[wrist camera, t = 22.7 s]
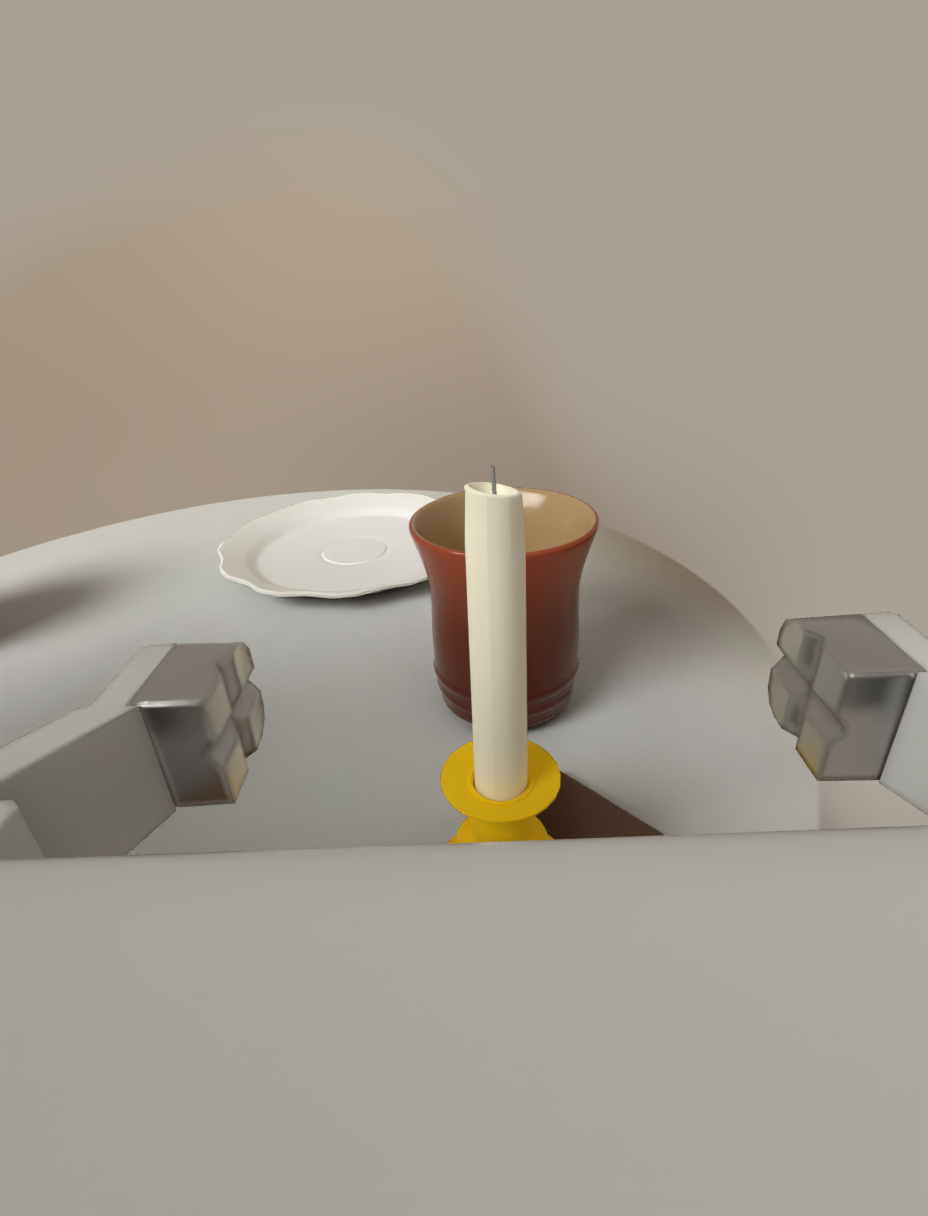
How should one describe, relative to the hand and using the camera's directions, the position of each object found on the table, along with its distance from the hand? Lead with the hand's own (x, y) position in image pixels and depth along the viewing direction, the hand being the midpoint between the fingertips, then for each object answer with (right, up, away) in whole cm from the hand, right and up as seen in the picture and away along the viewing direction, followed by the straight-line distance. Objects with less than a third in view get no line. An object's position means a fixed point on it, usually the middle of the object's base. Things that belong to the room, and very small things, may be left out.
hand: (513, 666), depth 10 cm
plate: (-10, +5, +43) cm, 44 cm away
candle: (+1, -9, +13) cm, 16 cm away
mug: (+1, -3, +26) cm, 26 cm away
